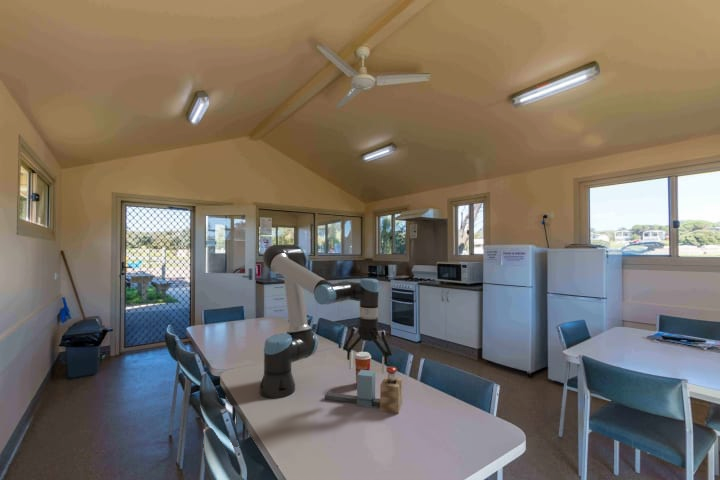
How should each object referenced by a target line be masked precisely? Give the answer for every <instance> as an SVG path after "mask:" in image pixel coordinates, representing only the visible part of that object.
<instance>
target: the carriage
mask: <svg viewBox="0 0 720 480" xmlns="http://www.w3.org/2000/svg"><path fill="white" fill-rule="evenodd" d="M356 396H357V404H356V406H357V407H359V406H360V407H366V408H373V406H372V401H373V399H374V398H376V371H375V370H370V371H369V370H360V372H359V373H358V374H357V383H356Z"/></svg>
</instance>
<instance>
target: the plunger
mask: <svg viewBox="0 0 720 480" xmlns="http://www.w3.org/2000/svg"><path fill="white" fill-rule="evenodd" d="M385 372H386V373H387V377H388V383H391V384H395V378H396V373H397V372H398V371H397V367H396V366H392V365H390V366H387V367H385Z"/></svg>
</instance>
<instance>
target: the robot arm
mask: <svg viewBox="0 0 720 480" xmlns="http://www.w3.org/2000/svg"><path fill="white" fill-rule="evenodd" d="M262 262H263V264H264V266H265V268H267V269H268V270H269V271H270V272H272V273H274V274H280V275H281V276H283V281H284V287H285V288H284V289H285V297H286V306H287V316H288V326H289V327H288V328H287V330H286V333H279V334H274V335H271V336H269V337H267V338H266V339H265V341H264V347H263V353H264V354H263V355H264V356H263V357H264V359H263V362H264V363H263V375H262V378H261V382H260V385H259V391H258V394H259V395H260V396H262V397H263V398H268V399H280V398H284V397H288V396H290V395H292V394H293V393H294V392H295V391H296V383H295V379H294V377H293V373H292V363H294V362H298V361H300V360H303V359H308V358H309V357H311V356H313V355H314V354H315V353H316V351H317V350H318V347H319V338H318V336H317V335H318V334H316V332H314V330H313V329H312V326H310V325H309V324H308V323H309V322H308V317H307V316H308V314H307V307H306V298H305V291H304V290H306V291H307V292H308V293H310V294H312V295H313V297H314V298H313V299H314V300H315V301H316V303H317V304H319V305H331V304H335V303H339V302H341V303H342V302H346V301H354V302H355V301H356V302H359V312H358V313H359V314H358V315H359V318H358V321H359V322H358V328H356V326H354V327H352V328H351V329H350V334H349V336H348V338H347V339H346V341H345V344H344V346H343V347H342V350H343V351H346V353H347V354H346V355H347V356H346V358H347V360H348V361H349V364H348V367H349V368H348V369H349V370H352V369H353V367H354V348H355V347H356V346H357V345H358V344H359V342H360V341H362V340H363V341H365V342H373V343H374V344H375V345H376V346H377V348H378V350H379V351H380V352H381V353H382V354H383V355H382V357H381V360H382V361H381V374H382V375H383V374H385V372H386V365H388V363H389V357H390V356H392V355H393V353H394V352H393V350H392V347H391V345H390V342H389V340H388V338H387V336H386V335H387V334H386V330H385V329H383V330H379V327H378V326H379V325H378V324H379V318H378V317H379V295H380V294H379V293H380V287H379V280H378V279H376V278H361V279H360V282H356V281H348V280H339V281H338V282H336V283H332V282H330V281H328V280H326V279H325V278H323V277H322V276H319V275H317V273H314V272H312V271H310V270H309V269H308V268H306V266H307V265H308V262H309V255H308V252H307V250H306V249H305V248H304V247H303V246H301V245H299V244H294V243H293V244H277V243H276V244H272V245H270V246H269V247H267V248H266V249H265V250H264V252H263V255H262ZM357 333H358V335H359V337H358V338H357V339H356V340H355V341H354V342H353V343H352V344H351V342H352V340H353V339H354V336H355V334H357ZM378 335H379V336H380V337H381V339H382V342H383V343H382V342H381V341H380V339H379V338H378ZM350 344H351V345H350ZM383 344H384V345H383ZM384 346H385V347H384Z"/></svg>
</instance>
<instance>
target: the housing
mask: <svg viewBox="0 0 720 480" xmlns="http://www.w3.org/2000/svg"><path fill="white" fill-rule="evenodd" d="M379 387H380V392H379V393H380V394H379V395H380V396H379V397H380V398H379V399H380V407H379V411H380V412H383V413H391V414H399V413H400V410H401V407H402V404H403V378H402V377H395V384H391V383H388V376H384V377H383V379H382V381H381V383H380V386H379Z"/></svg>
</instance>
